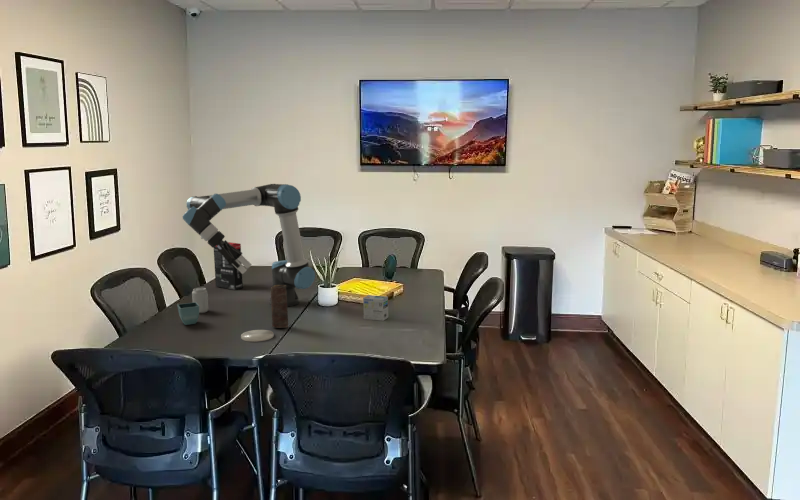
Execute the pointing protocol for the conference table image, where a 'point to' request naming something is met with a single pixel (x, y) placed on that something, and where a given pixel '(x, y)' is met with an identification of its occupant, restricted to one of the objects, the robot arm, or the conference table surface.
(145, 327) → the conference table surface
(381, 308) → the light bulb box
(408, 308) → the conference table surface
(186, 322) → the flower pot
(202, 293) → the can
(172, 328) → the conference table surface
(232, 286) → the graphics card box
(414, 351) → the conference table surface
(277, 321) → the candle
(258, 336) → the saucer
